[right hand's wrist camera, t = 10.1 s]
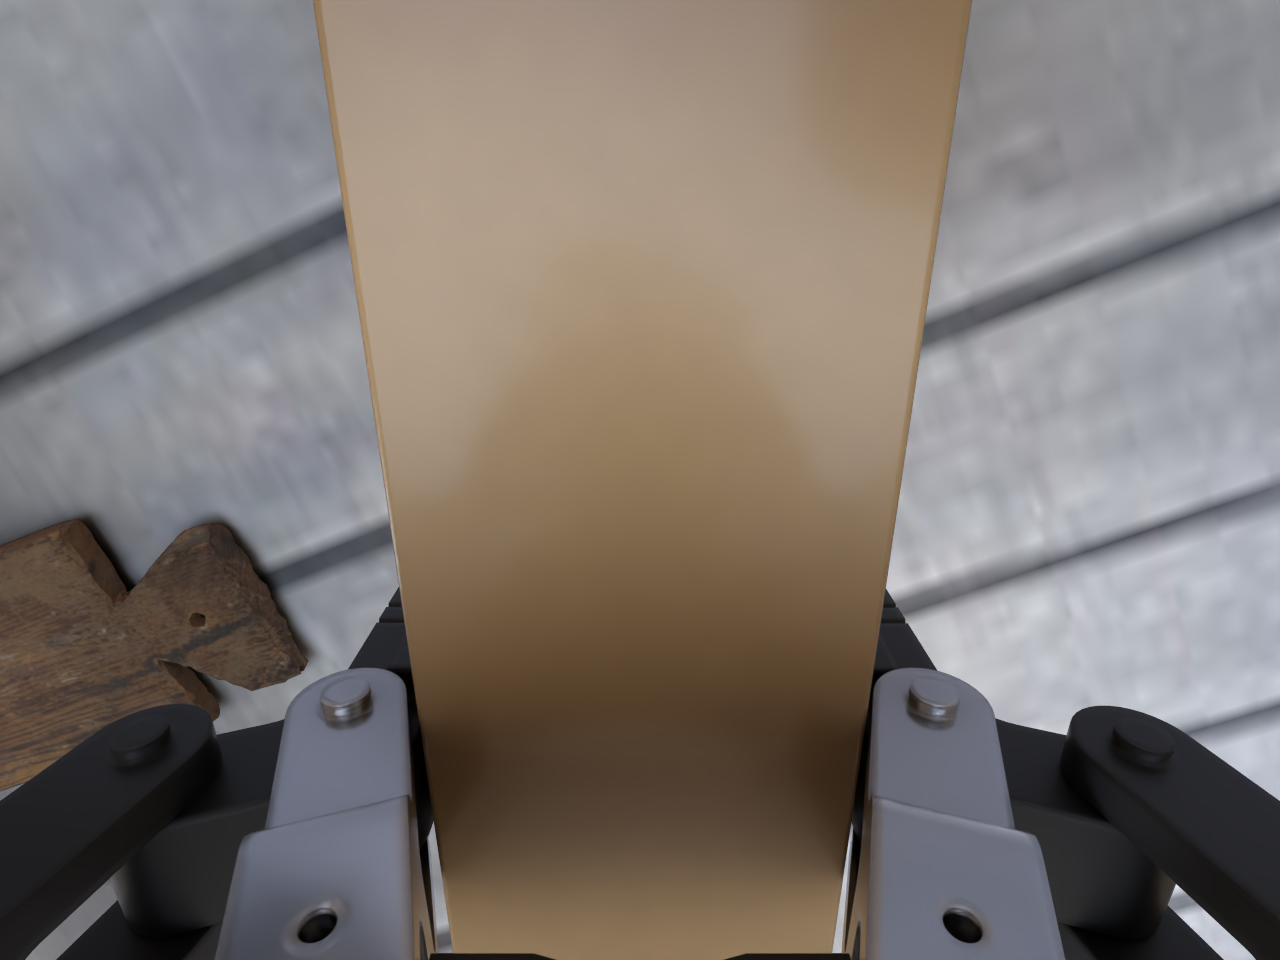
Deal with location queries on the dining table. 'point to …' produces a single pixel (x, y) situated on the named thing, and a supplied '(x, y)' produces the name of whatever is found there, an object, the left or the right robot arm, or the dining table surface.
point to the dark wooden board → (124, 637)
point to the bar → (642, 434)
